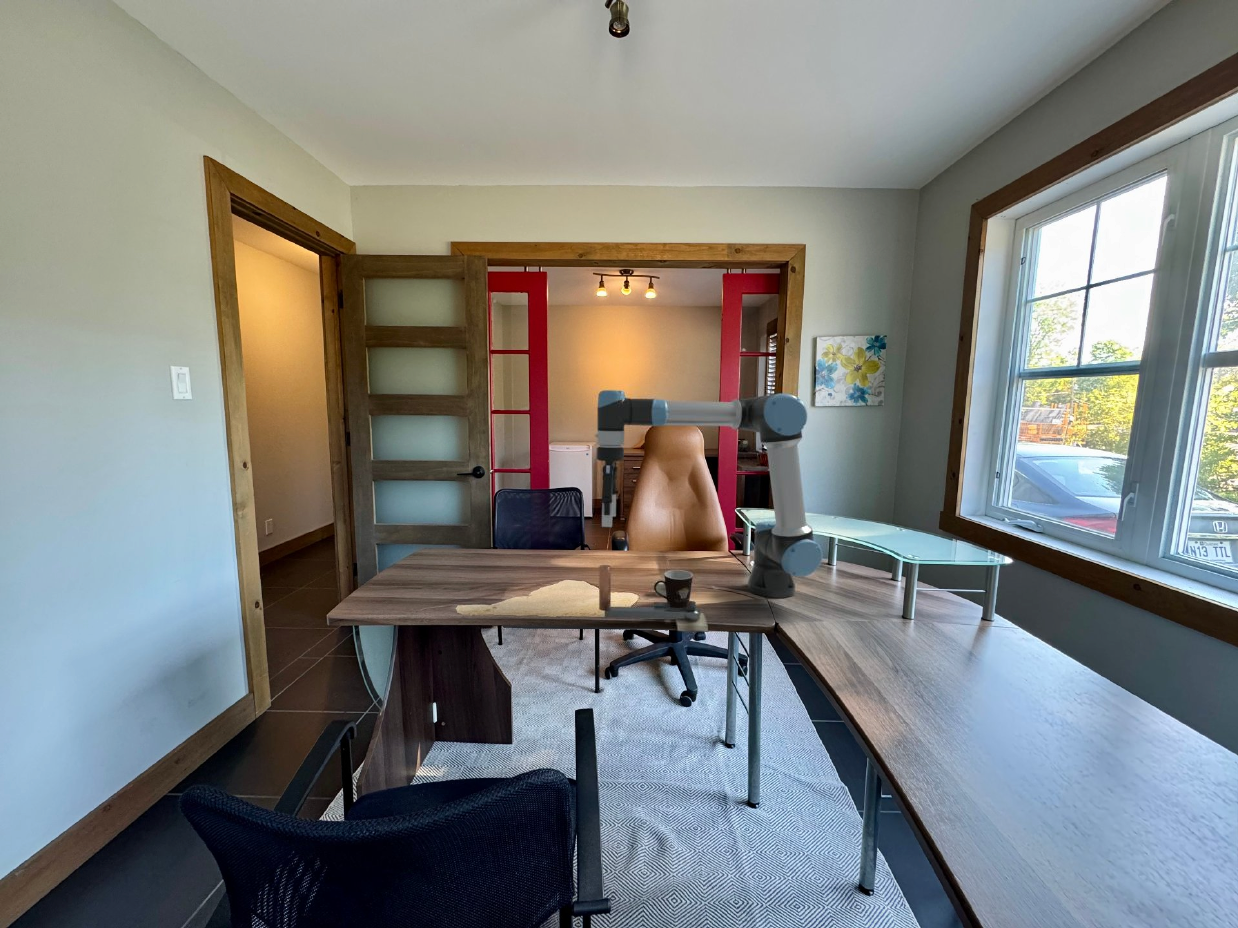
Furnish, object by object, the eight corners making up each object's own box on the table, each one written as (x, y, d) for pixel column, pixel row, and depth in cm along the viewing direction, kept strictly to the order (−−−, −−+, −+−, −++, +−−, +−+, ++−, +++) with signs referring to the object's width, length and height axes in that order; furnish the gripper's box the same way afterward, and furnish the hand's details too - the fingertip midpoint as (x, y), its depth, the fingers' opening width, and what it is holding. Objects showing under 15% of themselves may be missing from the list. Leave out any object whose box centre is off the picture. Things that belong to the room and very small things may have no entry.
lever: (697, 612, 133) (698, 563, 132) (701, 622, 127) (702, 570, 125) (600, 611, 134) (600, 562, 133) (598, 620, 128) (598, 569, 126)
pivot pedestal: (703, 618, 133) (703, 597, 133) (707, 631, 125) (708, 608, 125) (675, 618, 134) (675, 596, 133) (677, 630, 126) (678, 607, 125)
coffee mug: (691, 601, 146) (692, 570, 145) (693, 612, 137) (693, 579, 136) (654, 599, 147) (654, 569, 146) (653, 611, 139) (653, 578, 138)
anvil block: (685, 593, 153) (686, 581, 152) (686, 596, 150) (686, 584, 150) (655, 592, 153) (655, 581, 153) (655, 595, 150) (655, 583, 150)
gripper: (601, 443, 143) (600, 512, 145) (591, 448, 118) (590, 530, 120) (626, 444, 142) (624, 512, 144) (621, 449, 117) (619, 532, 119)
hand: (609, 521), depth 132 cm, fingers open, 13 cm apart
